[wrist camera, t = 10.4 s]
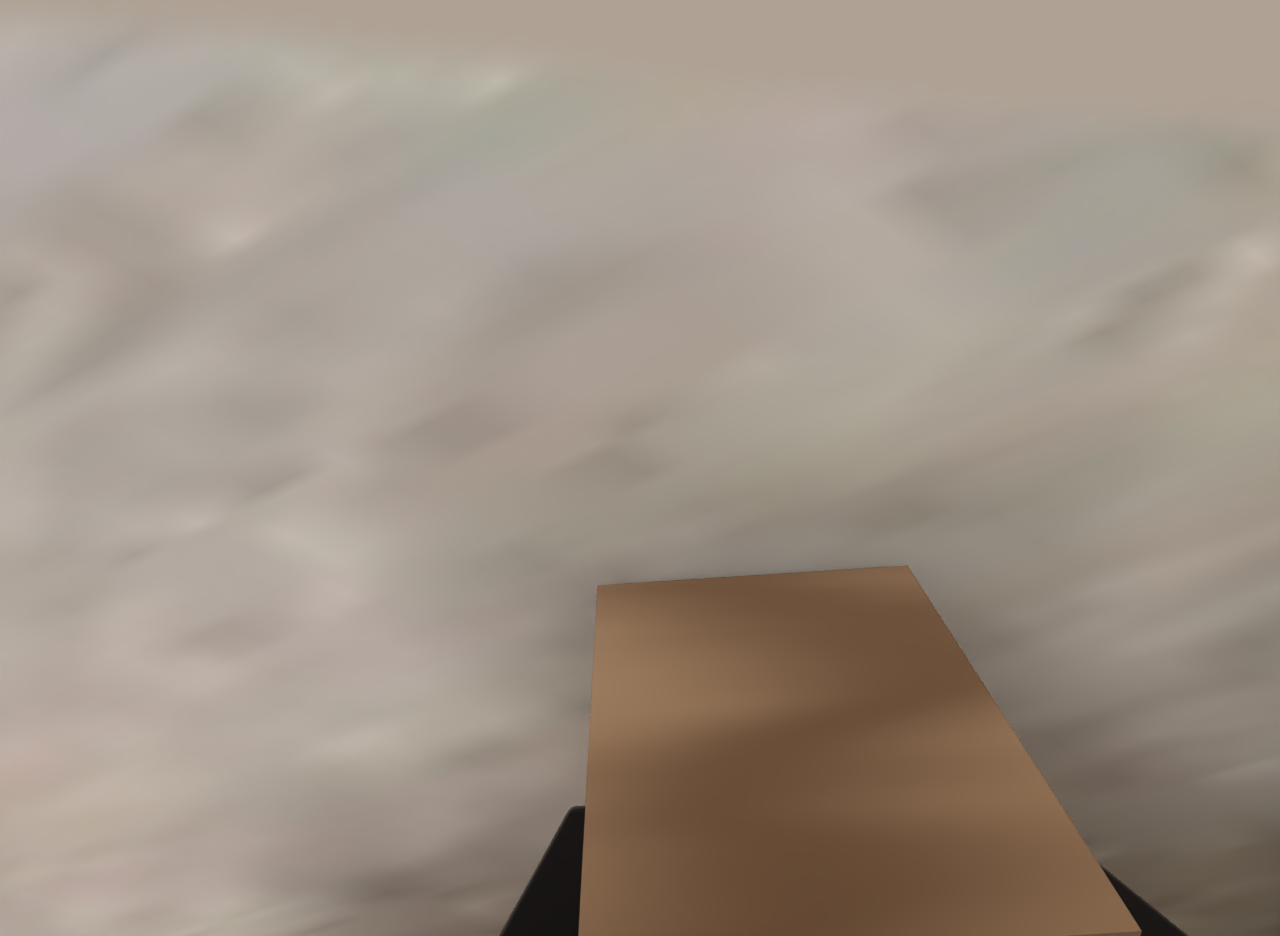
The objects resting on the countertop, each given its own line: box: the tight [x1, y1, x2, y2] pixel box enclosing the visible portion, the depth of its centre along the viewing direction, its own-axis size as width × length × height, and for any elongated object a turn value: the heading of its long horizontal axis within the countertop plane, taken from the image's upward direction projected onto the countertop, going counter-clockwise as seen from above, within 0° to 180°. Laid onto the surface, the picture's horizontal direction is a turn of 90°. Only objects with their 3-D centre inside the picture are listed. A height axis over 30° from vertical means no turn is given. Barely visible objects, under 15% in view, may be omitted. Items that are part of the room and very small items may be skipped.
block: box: [578, 565, 1142, 936], centre depth 9 cm, size 4×4×5 cm
